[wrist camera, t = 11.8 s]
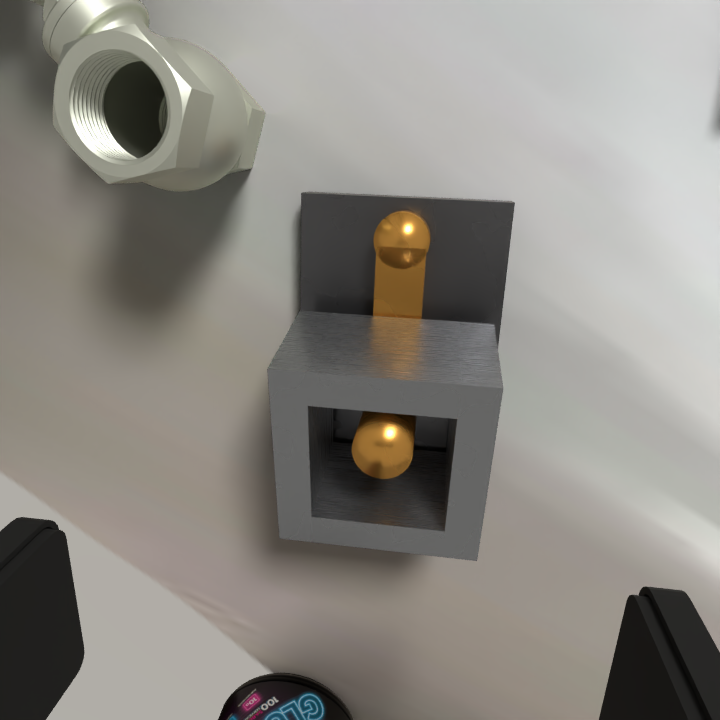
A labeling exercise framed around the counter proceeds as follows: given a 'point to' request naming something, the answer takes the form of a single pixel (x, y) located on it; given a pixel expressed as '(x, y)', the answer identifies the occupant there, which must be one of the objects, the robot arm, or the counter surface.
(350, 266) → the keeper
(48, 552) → the robot arm
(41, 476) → the counter surface
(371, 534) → the end link
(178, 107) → the valve
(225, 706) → the supplement container
